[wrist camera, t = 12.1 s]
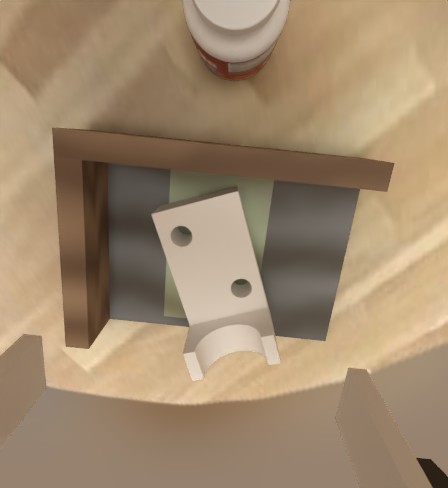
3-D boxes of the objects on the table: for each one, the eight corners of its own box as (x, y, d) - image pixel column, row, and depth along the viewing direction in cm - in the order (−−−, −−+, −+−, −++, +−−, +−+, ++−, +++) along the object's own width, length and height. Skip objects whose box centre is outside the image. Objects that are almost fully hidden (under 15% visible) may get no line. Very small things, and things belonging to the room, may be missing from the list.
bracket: (270, 312, 32) (280, 363, 25) (201, 328, 33) (192, 381, 26) (237, 184, 28) (238, 200, 21) (160, 205, 29) (136, 227, 22)
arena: (88, 129, 28) (52, 127, 23) (362, 158, 28) (394, 163, 23) (94, 311, 34) (65, 346, 28) (322, 335, 34) (340, 375, 28)
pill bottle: (186, 9, 25) (151, -82, 15) (262, -20, 25) (283, -137, 14) (210, 92, 27) (195, 63, 17) (282, 68, 26) (314, 21, 16)
